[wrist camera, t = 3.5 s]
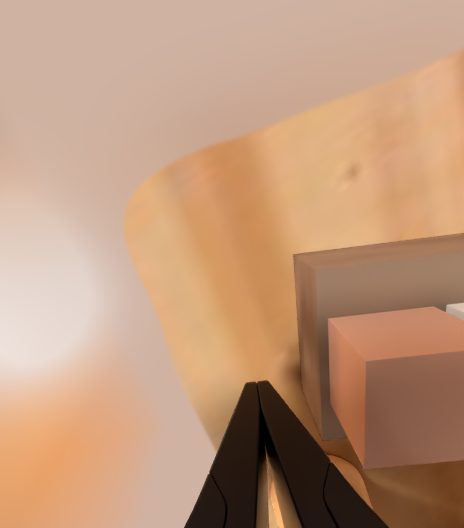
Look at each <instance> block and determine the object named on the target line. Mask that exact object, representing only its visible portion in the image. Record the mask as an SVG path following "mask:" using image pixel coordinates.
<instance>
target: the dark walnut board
mask: <svg viewBox="0 0 464 528" xmlns="http://www.w3.org/2000/svg"><path fill="white" fill-rule="evenodd" d="M293 257H294V273H295V288H296V304H297V320H298V335H299V351H300V366H301V382H302V390H303V393H304V395H305V398H306V400H307V403H308V405H309V408H310V410H311V413H312V415H313V418H314V421H315V423H316V426H317V428H318V431H319V433H320V436H321V438H322V441H325V440H335V439H345V438H348V437H347V435H346V433H345V431H344V429H343V427H342V425H341V423H340V421H339V419H338V417H337V415H336V413H335V411H334V410H333V408H332V406H331V404H330V374H329V339H328V318H337V317H346V316H354V315H363V314H372V313H380V312H389V311H397V310H406V309H415V308H423V307H432V306H434V307H436V308H438V309H440V310H442V311H444V312H446V307H447V305H449V304H458V303H464V233H462V234H454V235H446V236H438V237H430V238H422V239H414V240H406V241H398V242H390V243H382V244H374V245H366V246H358V247H350V248H342V249H333V250H325V251H317V252H309V253H301V254H293Z"/></svg>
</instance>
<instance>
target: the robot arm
mask: <svg viewBox="0 0 464 528" xmlns="http://www.w3.org/2000/svg"><path fill="white" fill-rule="evenodd" d="M265 447H266V449H265ZM266 453H267V458H268V462H269V467H270V471H271V475H272V479H273V483H274V487H275V491H276V496H277V500H278V504H279V508H280V512H281V516H282V520H283V524H284V528H389V527H388V526H387V525H386V524H385V523H384V522H383V521H382V520H381V519H380V517H379V516H378V515H377V514H376V513H375V512H374V511H373V510H372V509H371V508H370V506H369V505H368V504H367V503H366V502H365V501H364V500H363V499H362V498H361V496H360V495H359V494H358V493H357V492H356V491H355V489H354V488H353V487H352V486H351V485H350V483H349V482H348V481H347V480H346V479H345V477H344V476H343V475H342V474H341V472H340V471H339V470H338V469H337V467H336V466H335V465H334V463H333V462H331V460H330V459H329V457H328V456H327V455H326V453H325V452H324V451H323V450H322V448H321V447H320V446H319V445H318V443H317V442H316V441H315V440H314V438H313V437H312V436H311V434H310V433H309V432H308V431H307V429H306V428H305V427H304V426H303V424H302V423H301V422H300V420H299V419H298V418H297V417H296V415H295V414H294V413H293V412H292V410H291V409H290V408H289V407H288V405H287V404H286V403H285V401H284V400H283V399H282V398H281V396H280V395H279V394H278V393H277V391H276V390H275V389H274V388H273V386H272V385H271V384H270V382H269V381H267V380H265V381H258V382H257V383H256V382H247V383H246V384H245V386H244V388H243V390H242V393H241V395H240V398H239V400H238V403H237V405H236V408H235V410H234V412H233V415H232V417H231V420H230V422H229V425H228V427H227V430H226V432H225V434H224V437H223V439H222V442H221V444H220V447H219V449H218V452H217V454H216V457H215V459H214V461H213V464H212V466H211V469H210V471H209V473H210V474H208V476H207V478H206V481H205V483H204V486H203V488H202V490H201V493H200V495H199V497H198V500H197V502H196V504H195V506H194V509H193V511H192V513H191V515H190V517H189V519H188V521H187V523H186V525H185V527H184V528H269V515H268V487H267V460H266Z"/></svg>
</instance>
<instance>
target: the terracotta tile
mask: <svg viewBox="0 0 464 528" xmlns="http://www.w3.org/2000/svg"><path fill="white" fill-rule="evenodd" d="M328 339H329V374H330V404H331V406H332V408H333V410H334V411H335V413H336V415H337V417H338V419H339V421H340V423H341V425H342V427H343V429H344V431H345V433H346V435H347V437H348V439H349V441H350V443H351V445H352V447H353V449H354V451H355V452H356V454H357V456H358V458H359V460H360V462H361V464H362V466H363V468H364V470H366V469H377V468H387V467H398V466H408V465H418V464H429V463H439V462H450V461H460V460H464V321H463V320H461V319H459V318H457V317H455V316H453V315H450V314H448V313H446V312H444V311H442V310H440V309H438V308H436V307H434V306H432V307H423V308H415V309H406V310H397V311H389V312H380V313H372V314H363V315H354V316H346V317H337V318H328Z"/></svg>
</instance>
